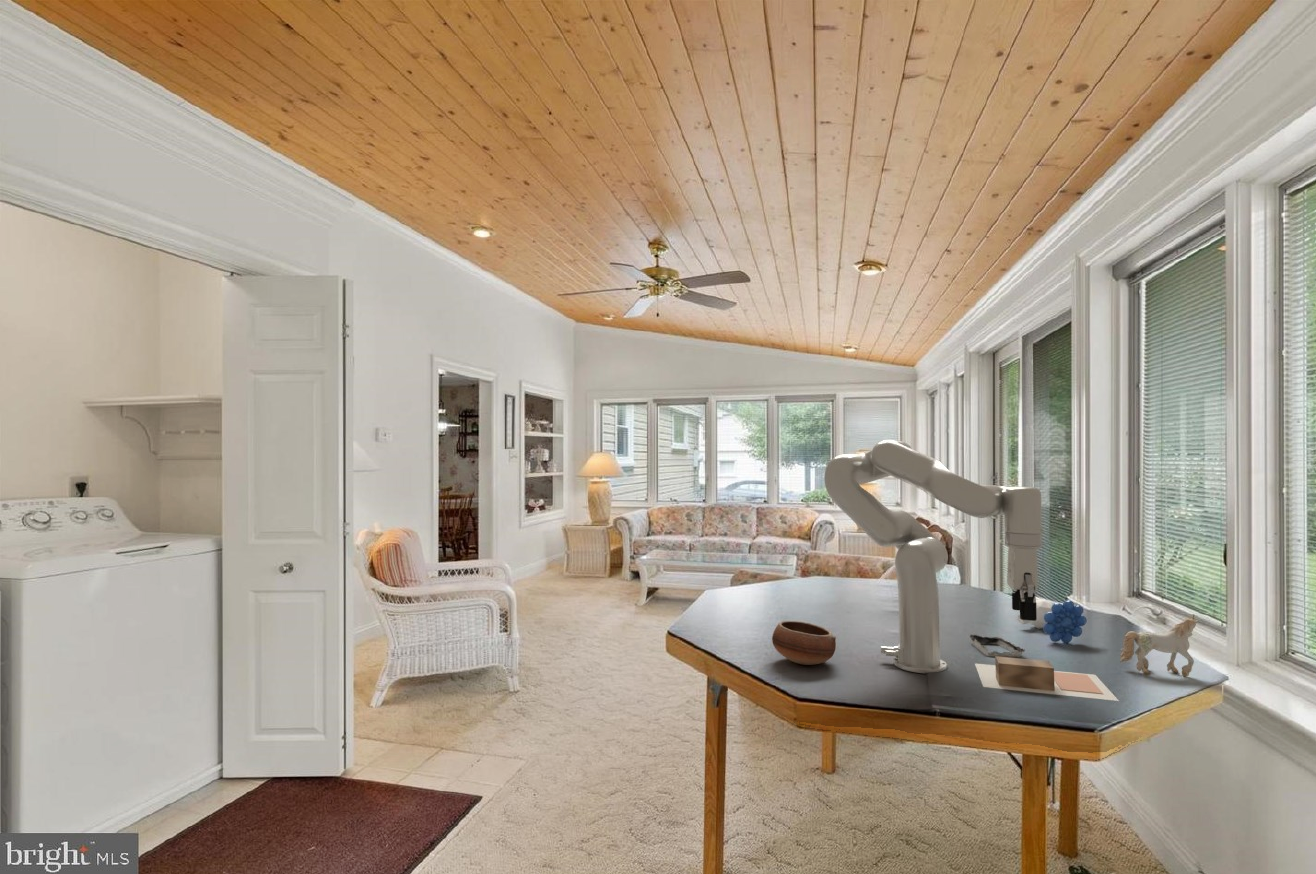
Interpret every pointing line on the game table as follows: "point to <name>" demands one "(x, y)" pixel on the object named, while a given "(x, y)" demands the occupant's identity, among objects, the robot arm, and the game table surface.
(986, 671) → the rubber mat
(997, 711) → the game table surface
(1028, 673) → the walnut block
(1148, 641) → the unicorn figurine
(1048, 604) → the perfume bottle
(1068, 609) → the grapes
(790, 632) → the bowl
